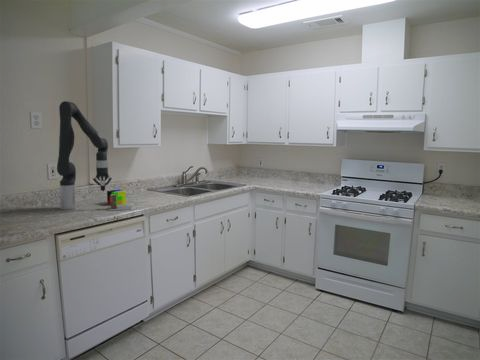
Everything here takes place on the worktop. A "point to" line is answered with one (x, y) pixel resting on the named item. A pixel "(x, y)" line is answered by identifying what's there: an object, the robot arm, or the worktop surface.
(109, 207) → the slate mat
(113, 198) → the walnut block
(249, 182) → the worktop surface
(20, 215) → the worktop surface
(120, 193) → the puzzle toy
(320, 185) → the worktop surface
